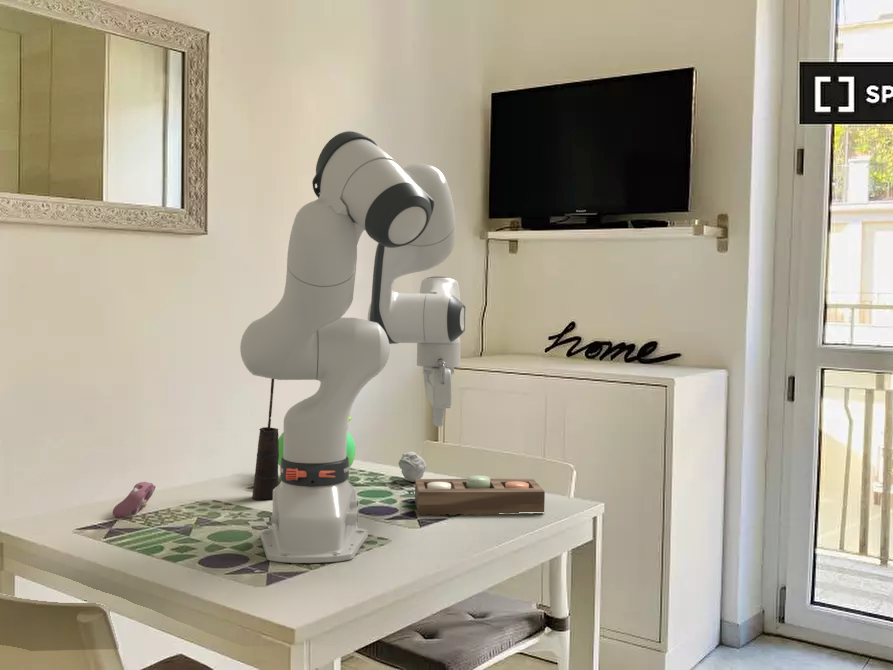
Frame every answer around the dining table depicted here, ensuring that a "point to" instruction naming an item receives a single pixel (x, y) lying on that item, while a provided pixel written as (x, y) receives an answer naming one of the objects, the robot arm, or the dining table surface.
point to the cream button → (438, 485)
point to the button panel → (478, 498)
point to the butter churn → (267, 459)
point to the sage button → (478, 482)
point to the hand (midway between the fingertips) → (437, 425)
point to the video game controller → (134, 500)
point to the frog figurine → (412, 466)
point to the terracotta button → (516, 484)
